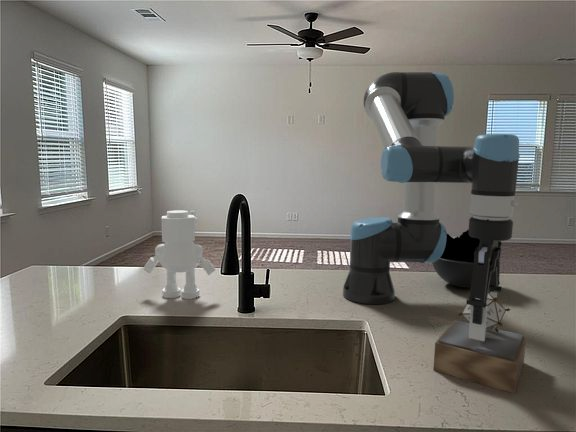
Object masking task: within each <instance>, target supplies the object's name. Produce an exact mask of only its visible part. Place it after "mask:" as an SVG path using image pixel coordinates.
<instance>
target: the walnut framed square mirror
mask: <svg viewBox="0 0 576 432" xmlns="http://www.w3.org/2000/svg"><path fill="white" fill-rule="evenodd" d="M469 325H470V323H469V322H468V321H467V322H466V321H463V320H462V321H460V320H456V319H455V320H452V322H451V323H450V324H449V326H447V328H446V329H445V331H444V332H443V333H442V334H441V335H440V336H439V338H437V340H436V341H435V344H434V357H433V360H434V361H433V371H436V372H438V373H442V374H446V375H449V376H452V377H456V378H459V379H463V380H466V381H469V382H470V381H471V382H473V383H478V384H480V385H485V386H486V387H487V386H488V387H491V388H494V389H498V390H502V391H505V392H508V393H512V394H515V393H516V388H517V386H518V382H519V379H520V377H521V373H522V370H523V366H524V363H525V354H526V344H527V343H526V342H527V336H525V335H524V334H521V333H517V332H513V331H512V332H511V331H509V330H503V329H499V328H497V329H498V330H499V331H498V332H496V331H495V329H493V330H487V331H486V332H485V341H480V340H476V339H472V338H469Z"/></svg>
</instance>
